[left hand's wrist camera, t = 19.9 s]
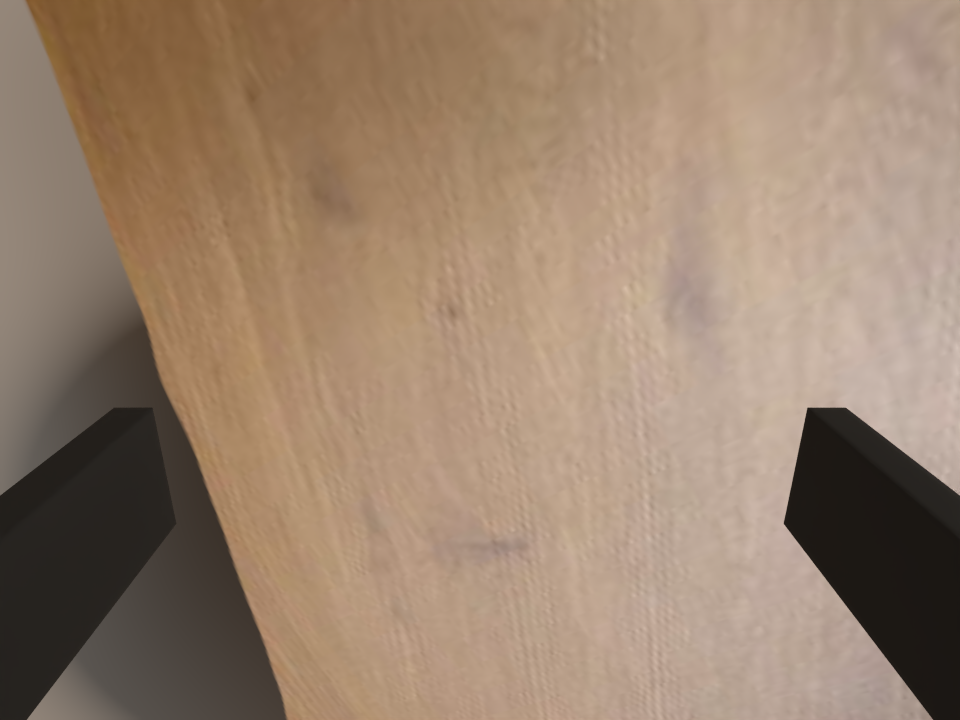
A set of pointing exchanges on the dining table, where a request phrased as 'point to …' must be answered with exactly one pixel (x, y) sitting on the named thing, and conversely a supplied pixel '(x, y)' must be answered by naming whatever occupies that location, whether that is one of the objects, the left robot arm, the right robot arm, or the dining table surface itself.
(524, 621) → the dining table surface
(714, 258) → the dining table surface
